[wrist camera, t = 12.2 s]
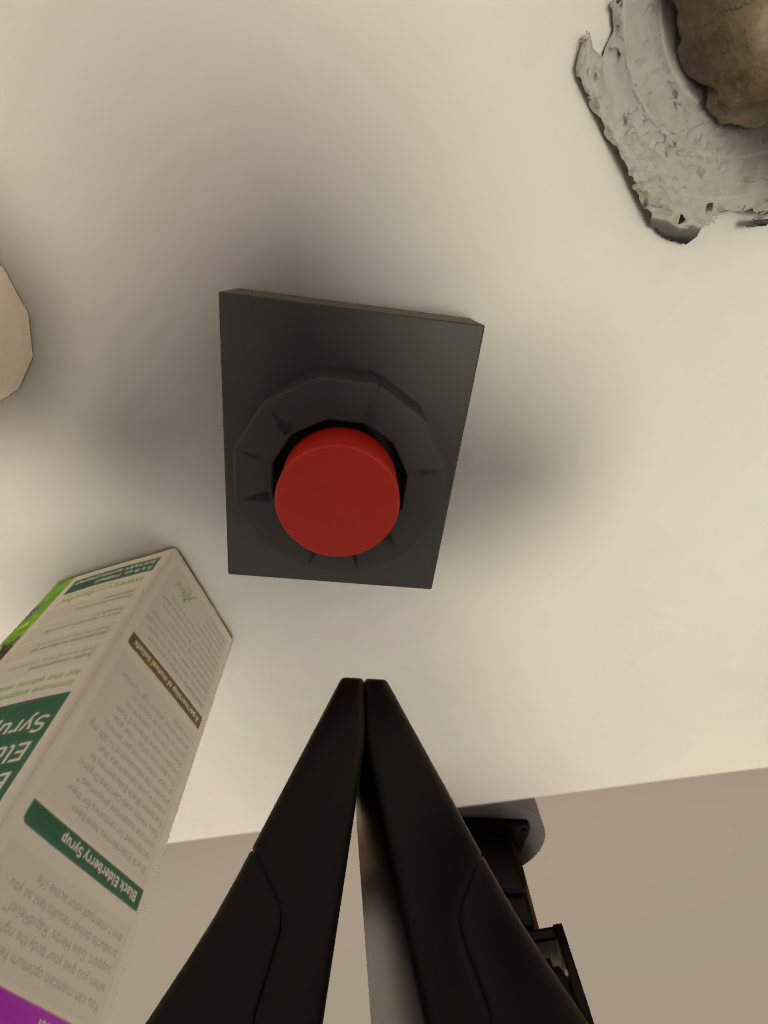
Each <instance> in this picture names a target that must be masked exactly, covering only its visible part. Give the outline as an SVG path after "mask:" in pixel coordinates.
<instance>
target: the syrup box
mask: <svg viewBox="0 0 768 1024" xmlns="http://www.w3.org/2000/svg"><path fill="white" fill-rule="evenodd" d="M231 645H232V639H231V637H230V635H229V633H228V631H227V630H226V628H225V626H224V624H223V623H222V621H221V619H220V617H219V616H218V614H217V612H216V611H215V609H214V607H213V606H212V604H211V603H210V601H209V600H208V598H207V596H206V595H205V593H204V592H203V590H202V588H201V587H200V585H199V584H198V582H197V581H196V579H195V577H194V576H193V574H192V573H191V571H190V570H189V568H188V566H187V565H186V563H185V562H184V560H183V559H182V557H181V556H180V554H179V553H178V551H177V549H175V548H172V549H168V550H165V551H163V552H161V553H157V554H153V555H149V556H146V557H143V558H138V559H134V560H130V561H127V562H123V563H120V564H117V565H114V566H110V567H107V568H103V569H100V570H97V571H94V572H91V573H87V574H84V575H81V576H77V577H75V578H71V579H68V580H65V581H61V582H59V583H57V584H56V585H55V586H54V587H53V589H52V590H51V591H50V592H49V593H48V594H47V595H46V596H45V598H44V599H43V600H42V601H41V602H40V603H39V604H38V605H37V606H36V607H35V608H34V609H33V610H32V611H31V612H30V614H29V615H28V616H27V617H26V618H25V619H24V620H23V621H22V622H21V623H20V624H19V626H18V627H17V628H16V629H15V630H14V631H13V632H12V633H11V634H10V635H9V636H8V637H7V638H6V639H5V640H4V641H3V643H2V644H1V645H0V1024H108V1021H109V1018H110V1015H111V1012H112V1009H113V1006H114V1003H115V1000H116V997H117V993H118V991H119V988H120V985H121V981H122V978H123V975H124V972H125V969H126V966H127V963H128V960H129V957H130V954H131V951H132V948H133V945H134V942H135V939H136V936H137V933H138V930H139V927H140V923H141V920H142V917H143V914H144V911H145V908H146V905H147V902H148V899H149V896H150V893H151V890H152V887H153V884H154V881H155V878H156V875H157V871H158V869H159V866H160V863H161V860H162V857H163V854H164V850H165V847H166V844H167V841H168V838H169V835H170V832H171V828H172V825H173V822H174V819H175V817H176V814H177V811H178V808H179V805H180V801H181V798H182V795H183V792H184V789H185V786H186V782H187V779H188V777H189V774H190V771H191V767H192V764H193V761H194V758H195V755H196V752H197V749H198V746H199V743H200V740H201V737H202V734H203V731H204V727H205V724H206V722H207V719H208V715H209V712H210V710H211V707H212V704H213V701H214V697H215V694H216V691H217V688H218V685H219V682H220V679H221V676H222V673H223V670H224V667H225V664H226V661H227V658H228V655H229V652H230V649H231Z"/></svg>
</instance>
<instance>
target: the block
mask: <svg viewBox="0 0 768 1024" xmlns="http://www.w3.org/2000/svg"><path fill="white" fill-rule="evenodd" d="M219 311H220V340H221V369H222V398H223V427H224V456H225V486H226V515H227V544H228V572H229V574H237V575H250V576H264V577H277V578H290V579H304V580H317V581H330V582H343V583H357V584H370V585H383V586H397V587H410V588H423V589H431V588H432V583H433V578H434V573H435V568H436V564H437V559H438V554H439V549H440V544H441V539H442V534H443V529H444V524H445V519H446V514H447V510H448V505H449V500H450V495H451V490H452V485H453V480H454V475H455V470H456V465H457V460H458V456H459V451H460V446H461V441H462V436H463V431H464V426H465V421H466V416H467V411H468V406H469V402H470V397H471V392H472V387H473V382H474V377H475V372H476V367H477V362H478V357H479V352H480V348H481V343H482V338H483V333H484V328H485V326H484V325H482V324H480V323H478V322H476V321H474V320H472V319H470V318H462V317H454V316H446V315H439V314H431V313H423V312H415V311H408V310H400V309H392V308H384V307H377V306H369V305H361V304H353V303H345V302H338V301H330V300H322V299H314V298H307V297H299V296H291V295H283V294H275V293H268V292H260V291H252V290H244V289H232V290H227V291H221V292H219ZM329 427H347V428H353V429H356V430H360V431H362V432H364V433H366V434H368V435H370V436H371V437H373V438H374V439H376V440H377V441H378V442H379V443H380V444H381V445H382V446H383V447H384V448H385V449H386V451H387V452H388V453H389V455H390V457H391V459H392V461H393V464H394V466H395V471H396V476H397V482H398V489H399V495H400V508H399V513H398V517H397V520H396V522H395V524H394V526H393V528H392V530H391V531H390V532H389V534H388V535H387V536H386V537H385V538H384V539H383V540H382V541H381V542H380V543H378V544H377V545H376V546H374V547H373V548H371V549H369V550H367V551H365V552H362V553H359V554H356V555H351V556H343V557H334V556H326V555H322V554H318V553H315V552H313V551H310V550H308V549H306V548H304V547H303V546H301V545H300V544H298V543H297V542H296V541H295V540H293V539H292V538H291V537H290V535H289V534H288V533H287V532H286V531H285V529H284V528H283V526H282V524H281V522H280V520H279V518H278V515H277V512H276V508H275V490H276V486H277V482H278V480H279V477H280V475H281V472H282V470H283V467H284V465H285V462H286V460H287V457H288V455H289V454H290V452H291V450H292V449H293V448H294V446H295V445H296V444H297V443H298V442H299V441H300V440H301V439H303V438H304V437H306V436H307V435H309V434H311V433H313V432H315V431H317V430H320V429H324V428H329Z"/></svg>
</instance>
